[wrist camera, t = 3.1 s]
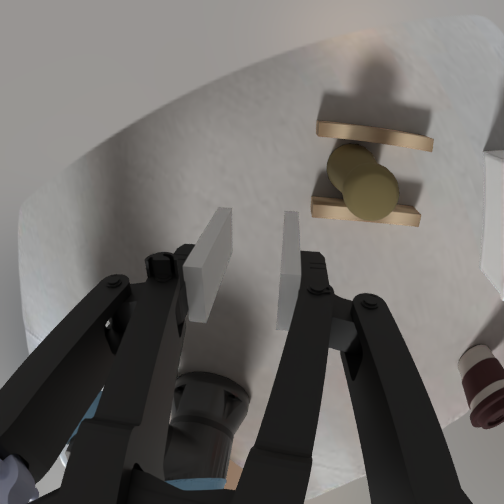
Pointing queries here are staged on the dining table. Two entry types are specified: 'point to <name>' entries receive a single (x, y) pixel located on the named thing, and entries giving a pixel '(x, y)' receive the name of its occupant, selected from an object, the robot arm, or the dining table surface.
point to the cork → (363, 182)
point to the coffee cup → (483, 386)
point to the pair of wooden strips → (336, 206)
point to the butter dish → (493, 220)
